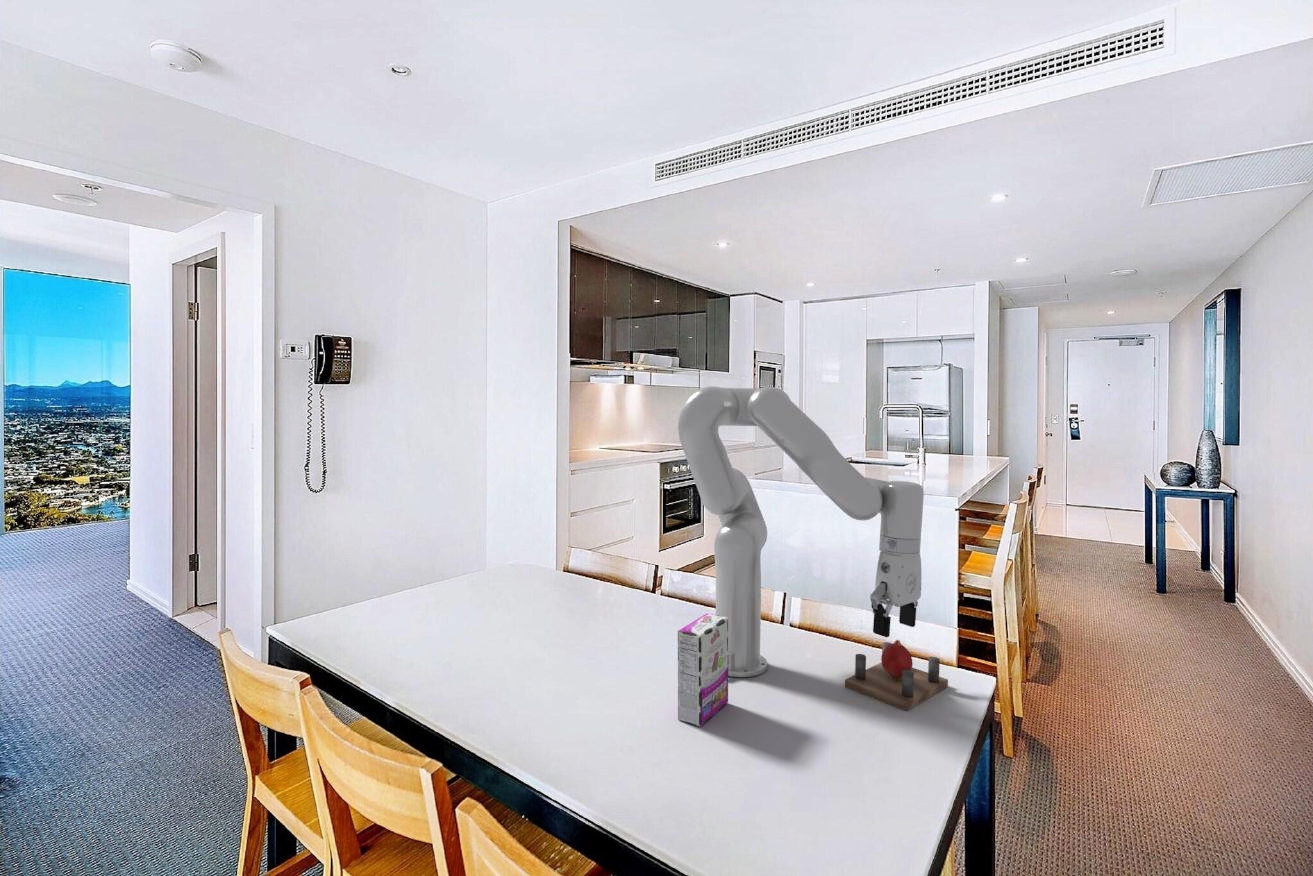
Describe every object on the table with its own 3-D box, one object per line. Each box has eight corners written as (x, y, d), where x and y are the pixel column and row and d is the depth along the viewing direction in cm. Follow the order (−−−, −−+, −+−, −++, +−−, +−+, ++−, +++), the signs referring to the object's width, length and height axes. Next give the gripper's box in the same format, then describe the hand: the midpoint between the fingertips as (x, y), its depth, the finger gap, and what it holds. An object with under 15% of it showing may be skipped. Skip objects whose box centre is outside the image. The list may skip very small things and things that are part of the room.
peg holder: (906, 711, 118) (907, 679, 117) (844, 686, 127) (845, 657, 127) (947, 686, 128) (948, 657, 128) (887, 666, 138) (888, 638, 137)
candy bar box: (705, 696, 123) (706, 612, 122) (728, 703, 120) (730, 616, 119) (675, 720, 113) (676, 629, 112) (700, 728, 111) (701, 635, 110)
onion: (875, 673, 130) (876, 634, 130) (903, 672, 131) (904, 634, 130) (888, 685, 125) (889, 645, 124) (917, 685, 125) (918, 644, 125)
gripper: (894, 554, 118) (888, 645, 119) (939, 543, 129) (933, 626, 130) (858, 546, 123) (853, 633, 124) (904, 536, 135) (899, 616, 136)
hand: (894, 629), depth 127 cm, fingers open, 9 cm apart
